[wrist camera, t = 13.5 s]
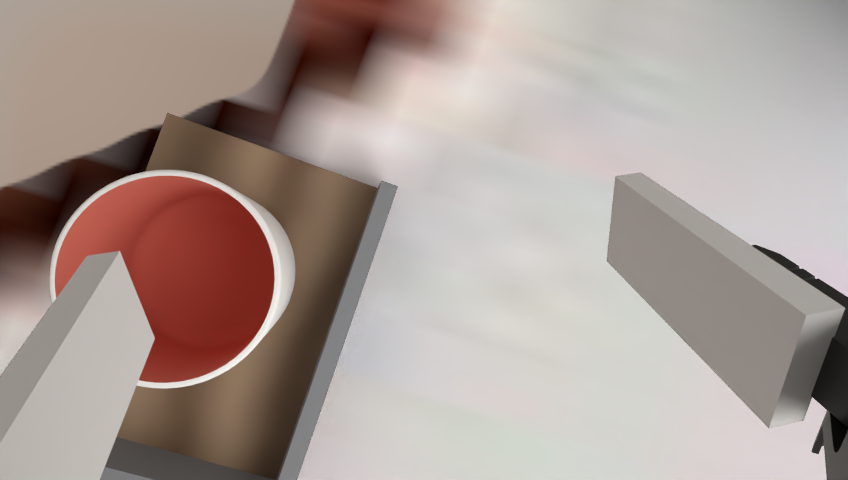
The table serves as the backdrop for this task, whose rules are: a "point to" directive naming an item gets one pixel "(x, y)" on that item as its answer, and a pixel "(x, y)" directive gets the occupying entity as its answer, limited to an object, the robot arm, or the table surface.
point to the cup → (186, 267)
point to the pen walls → (185, 476)
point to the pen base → (290, 336)
